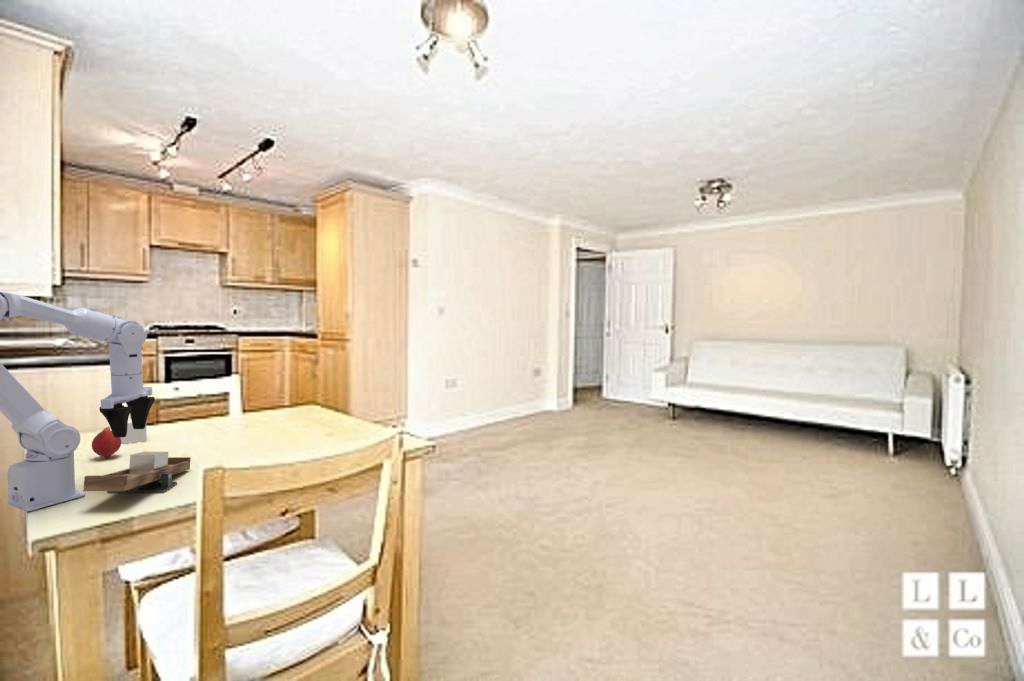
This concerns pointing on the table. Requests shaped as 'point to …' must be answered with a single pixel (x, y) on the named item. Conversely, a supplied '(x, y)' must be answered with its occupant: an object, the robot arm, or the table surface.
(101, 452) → the onion
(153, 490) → the beam stand
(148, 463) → the block
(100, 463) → the table surface
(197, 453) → the table surface
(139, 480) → the balance beam
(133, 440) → the white cube
